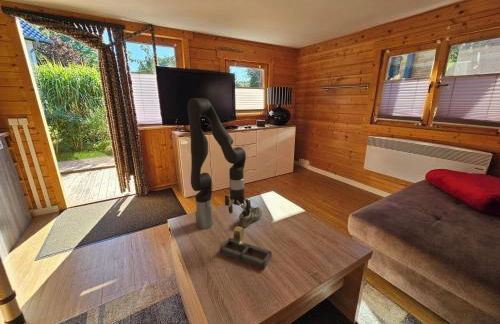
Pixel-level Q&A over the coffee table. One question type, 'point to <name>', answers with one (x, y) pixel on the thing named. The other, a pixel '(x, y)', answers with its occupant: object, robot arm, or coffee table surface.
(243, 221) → the hiking shoe
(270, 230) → the coffee table surface
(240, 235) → the block
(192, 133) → the robot arm
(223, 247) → the dark grey rectangular tray
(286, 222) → the coffee table surface
